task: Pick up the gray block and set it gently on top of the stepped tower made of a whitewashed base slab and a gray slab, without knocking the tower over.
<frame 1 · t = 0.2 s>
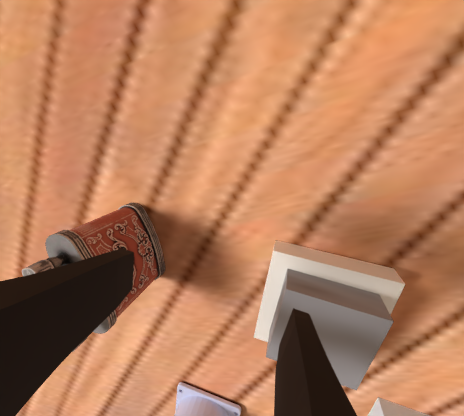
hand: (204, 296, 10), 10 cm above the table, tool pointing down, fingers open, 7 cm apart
lighter: (145, 239, 23), on the table
gray slab: (318, 314, 18), point 2 cm above the table, touching base slab
base slab: (316, 293, 20), on the table, touching gray slab
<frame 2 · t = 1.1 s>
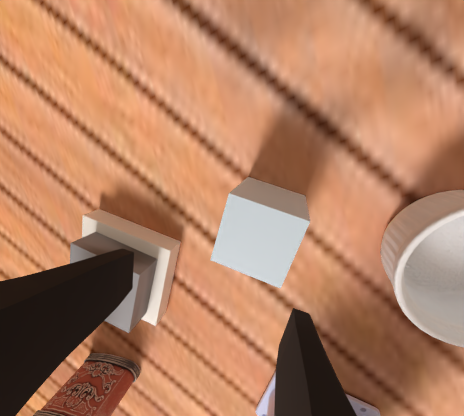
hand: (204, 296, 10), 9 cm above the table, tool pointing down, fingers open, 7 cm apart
ramekin: (442, 244, 15), on the table
lighter: (115, 363, 29), on the table
gray slab: (121, 273, 21), point 2 cm above the table, touching base slab
base slab: (137, 259, 24), on the table, touching gray slab
gray block: (266, 212, 18), on the table
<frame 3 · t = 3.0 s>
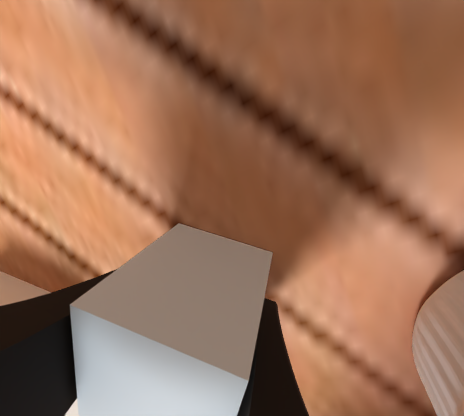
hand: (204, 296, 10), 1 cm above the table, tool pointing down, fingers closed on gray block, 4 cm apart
base slab: (60, 332, 17), on the table
gray block: (215, 277, 11), on the table, touching gripper
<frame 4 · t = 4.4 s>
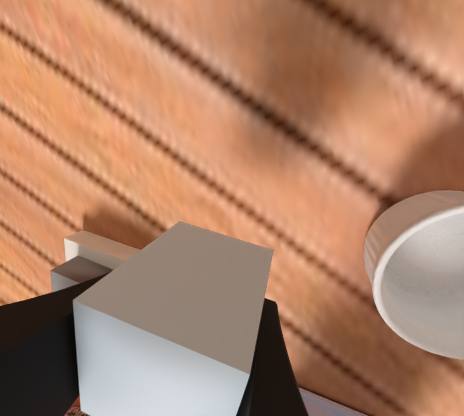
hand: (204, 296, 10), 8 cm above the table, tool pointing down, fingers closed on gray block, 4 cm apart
ramekin: (427, 246, 15), on the table
lighter: (113, 382, 29), on the table
gray slab: (107, 295, 21), point 2 cm above the table
base slab: (125, 278, 23), on the table
gray block: (216, 275, 11), point 7 cm above the table, touching gripper
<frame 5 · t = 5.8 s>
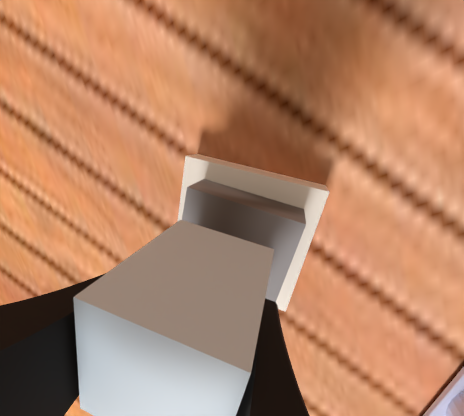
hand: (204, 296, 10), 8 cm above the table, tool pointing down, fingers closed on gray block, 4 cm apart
gray slab: (239, 238, 15), point 2 cm above the table, touching base slab
base slab: (245, 224, 17), on the table, touching gray slab
gray block: (216, 274, 11), point 6 cm above the table, touching gripper
when the fingers open (8 cm above the table, at t = 6.6 s): gray block drops 2 cm, resting on gray slab.
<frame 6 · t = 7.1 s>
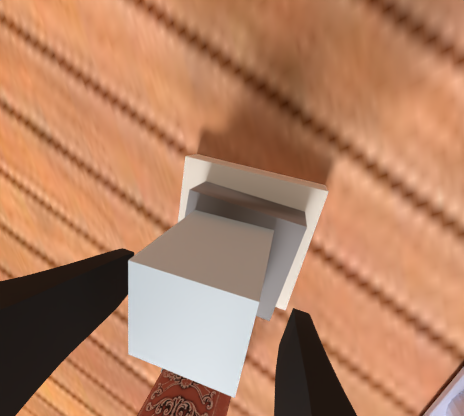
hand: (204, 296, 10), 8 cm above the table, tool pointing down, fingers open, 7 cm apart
lighter: (200, 369, 23), on the table
gray slab: (240, 239, 15), point 2 cm above the table, touching base slab, gray block
base slab: (245, 223, 17), on the table, touching gray slab
gray block: (226, 254, 13), point 4 cm above the table, touching gray slab
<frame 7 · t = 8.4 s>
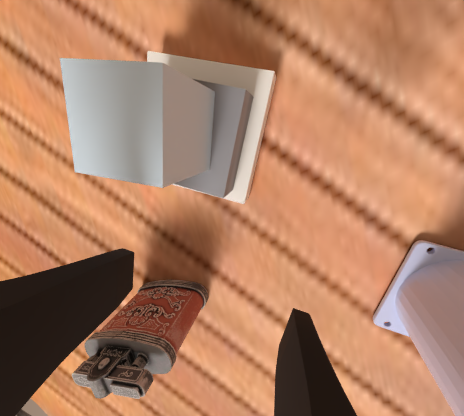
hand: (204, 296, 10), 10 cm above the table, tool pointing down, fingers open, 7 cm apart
lighter: (174, 292, 24), on the table
gray slab: (200, 136, 16), point 2 cm above the table, touching base slab, gray block
base slab: (209, 131, 19), on the table, touching gray slab
gray block: (178, 128, 14), point 4 cm above the table, touching gray slab
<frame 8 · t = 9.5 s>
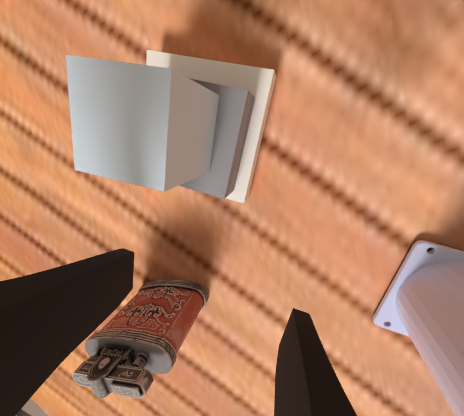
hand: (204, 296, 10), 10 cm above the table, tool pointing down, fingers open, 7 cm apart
lighter: (174, 292, 24), on the table
gray slab: (201, 136, 16), point 2 cm above the table, touching base slab, gray block
base slab: (209, 130, 19), on the table, touching gray slab
gray block: (180, 129, 14), point 4 cm above the table, touching gray slab
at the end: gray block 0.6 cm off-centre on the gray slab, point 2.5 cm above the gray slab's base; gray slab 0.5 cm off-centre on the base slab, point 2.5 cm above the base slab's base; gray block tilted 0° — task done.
